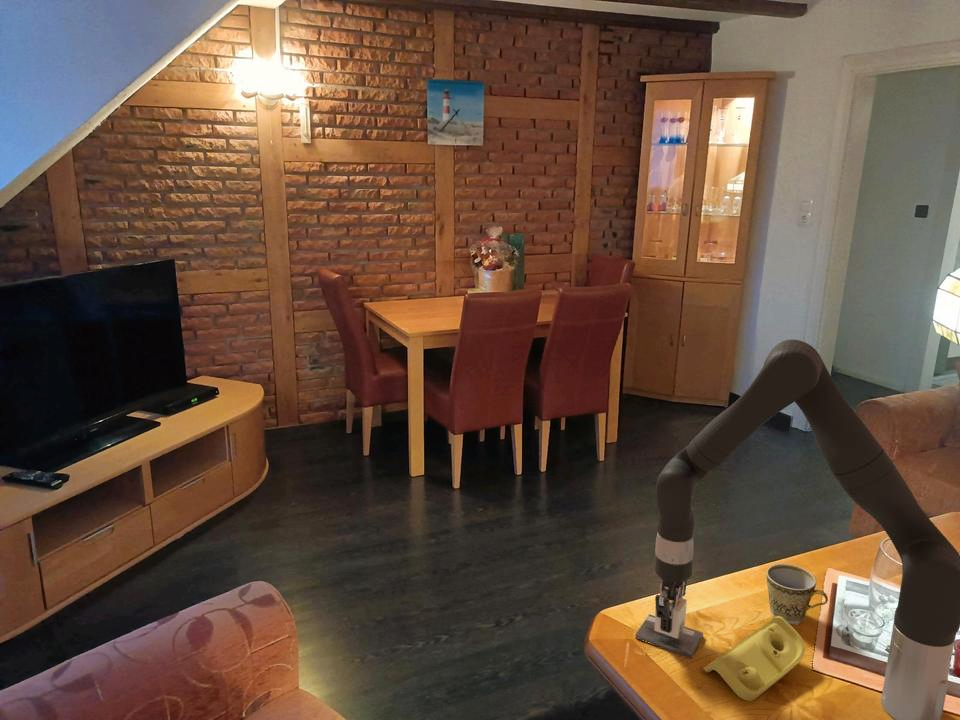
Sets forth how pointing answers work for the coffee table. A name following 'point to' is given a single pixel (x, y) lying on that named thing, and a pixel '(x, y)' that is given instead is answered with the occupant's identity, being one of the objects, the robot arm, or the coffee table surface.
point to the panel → (671, 638)
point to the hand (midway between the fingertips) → (670, 623)
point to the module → (674, 619)
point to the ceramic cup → (791, 592)
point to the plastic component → (760, 659)
